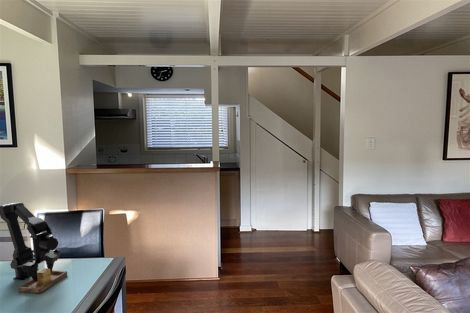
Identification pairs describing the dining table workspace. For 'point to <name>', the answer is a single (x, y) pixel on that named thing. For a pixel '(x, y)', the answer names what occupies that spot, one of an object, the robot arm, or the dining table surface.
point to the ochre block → (43, 276)
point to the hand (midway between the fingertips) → (43, 276)
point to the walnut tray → (39, 288)
